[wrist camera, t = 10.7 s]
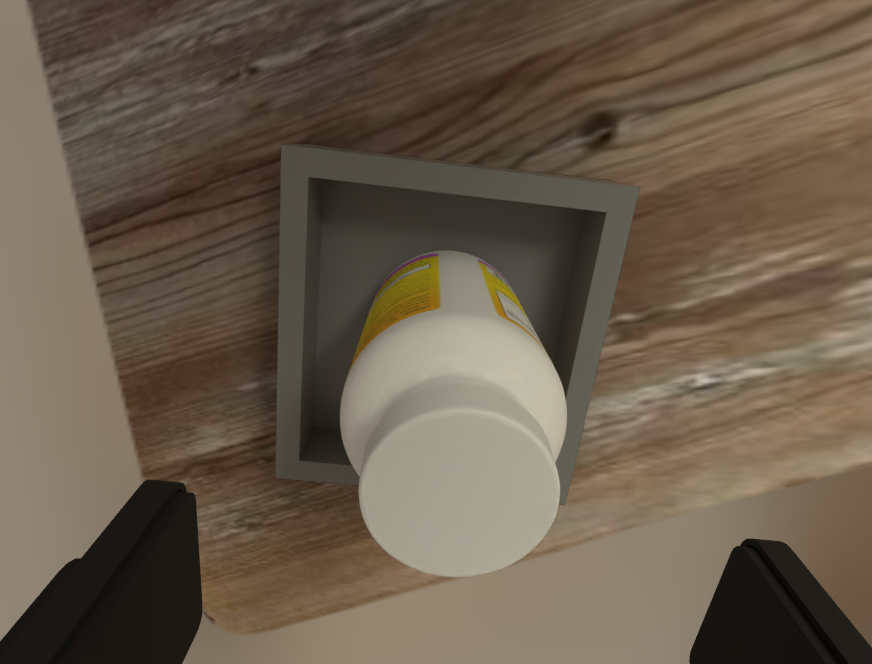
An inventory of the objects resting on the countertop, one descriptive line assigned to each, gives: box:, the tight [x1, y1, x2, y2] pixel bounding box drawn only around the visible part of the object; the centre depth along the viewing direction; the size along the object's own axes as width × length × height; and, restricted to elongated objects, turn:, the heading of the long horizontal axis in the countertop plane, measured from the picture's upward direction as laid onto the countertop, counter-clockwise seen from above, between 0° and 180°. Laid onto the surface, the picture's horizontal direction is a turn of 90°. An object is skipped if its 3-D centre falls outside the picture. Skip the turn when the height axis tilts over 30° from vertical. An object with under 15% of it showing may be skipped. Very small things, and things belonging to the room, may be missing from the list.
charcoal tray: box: [275, 144, 640, 505], centre depth 23 cm, size 14×13×4 cm
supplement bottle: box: [340, 250, 567, 577], centre depth 18 cm, size 7×7×13 cm
